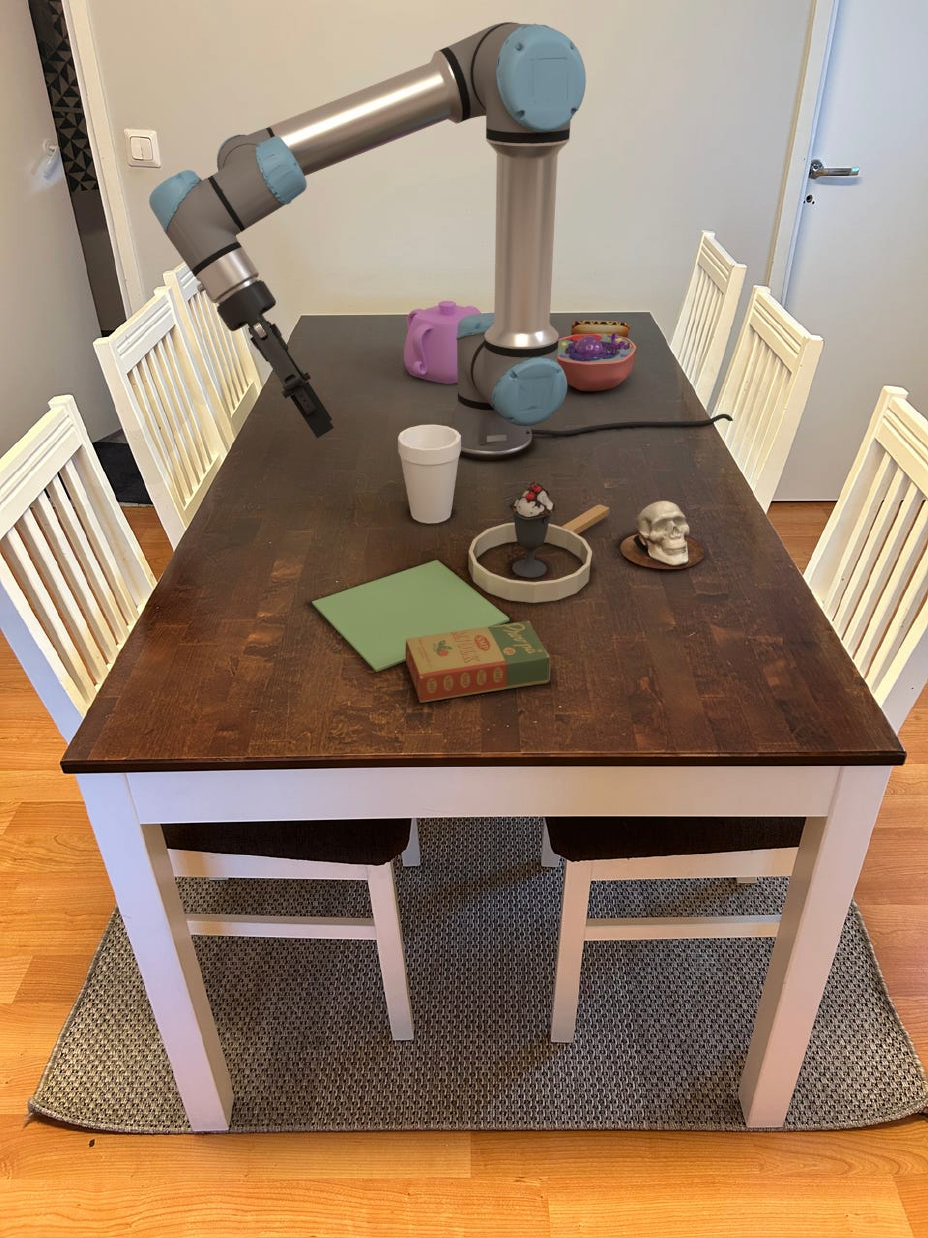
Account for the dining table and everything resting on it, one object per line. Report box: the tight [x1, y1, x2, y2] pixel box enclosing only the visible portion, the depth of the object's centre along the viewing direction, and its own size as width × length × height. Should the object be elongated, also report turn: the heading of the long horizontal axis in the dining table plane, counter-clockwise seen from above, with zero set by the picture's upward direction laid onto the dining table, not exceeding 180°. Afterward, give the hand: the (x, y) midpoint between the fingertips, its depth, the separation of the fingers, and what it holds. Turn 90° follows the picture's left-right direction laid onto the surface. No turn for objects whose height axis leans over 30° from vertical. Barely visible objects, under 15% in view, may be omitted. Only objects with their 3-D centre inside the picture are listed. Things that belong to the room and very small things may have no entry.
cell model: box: [558, 334, 637, 393], centre depth 189 cm, size 17×20×11 cm
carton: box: [405, 620, 551, 704], centre depth 112 cm, size 8×16×4 cm, turn 105°
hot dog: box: [570, 319, 631, 338], centre depth 214 cm, size 5×13×5 cm, turn 84°
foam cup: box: [397, 424, 461, 524], centre depth 143 cm, size 10×9×13 cm
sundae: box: [507, 479, 558, 579], centre depth 129 cm, size 7×7×15 cm
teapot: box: [403, 300, 482, 385], centre depth 197 cm, size 19×21×14 cm
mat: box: [311, 559, 510, 673], centre depth 124 cm, size 20×18×1 cm
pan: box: [468, 503, 610, 604], centre depth 134 cm, size 26×17×3 cm, turn 123°
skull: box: [619, 500, 705, 570], centre depth 136 cm, size 12×10×10 cm
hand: (325, 428), depth 132 cm, fingers open, 13 cm apart
